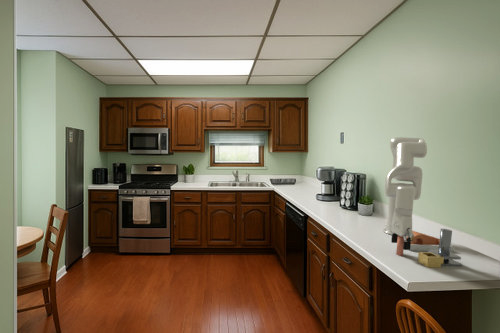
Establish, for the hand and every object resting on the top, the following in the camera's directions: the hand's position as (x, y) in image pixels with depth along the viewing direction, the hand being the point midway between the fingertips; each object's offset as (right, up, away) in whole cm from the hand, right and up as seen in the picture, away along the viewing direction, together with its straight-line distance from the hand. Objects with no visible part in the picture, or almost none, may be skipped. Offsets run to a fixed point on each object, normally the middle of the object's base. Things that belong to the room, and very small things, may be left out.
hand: (400, 246), depth 137 cm
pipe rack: (+20, -4, +14) cm, 25 cm away
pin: (0, -4, 0) cm, 4 cm away
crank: (+21, -5, +15) cm, 26 cm away
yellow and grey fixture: (+13, -5, -7) cm, 16 cm away
